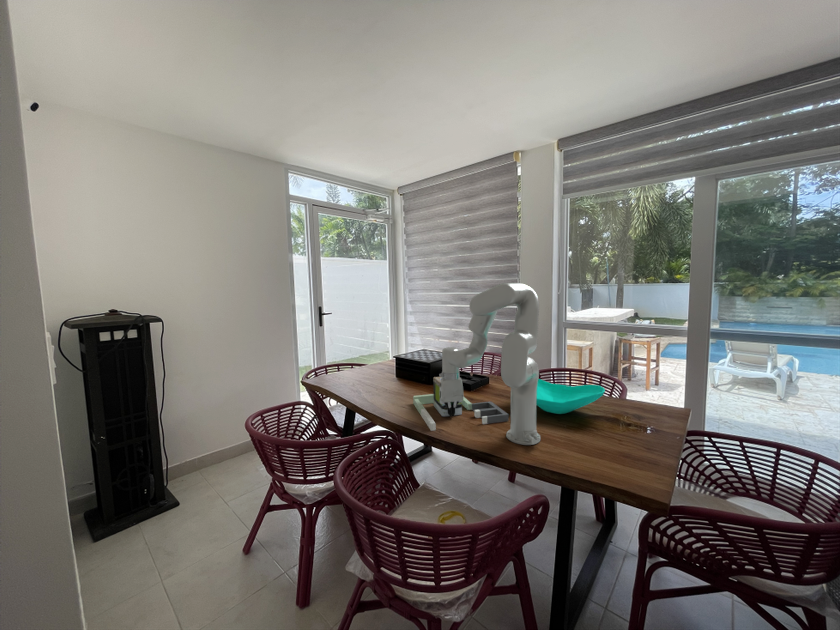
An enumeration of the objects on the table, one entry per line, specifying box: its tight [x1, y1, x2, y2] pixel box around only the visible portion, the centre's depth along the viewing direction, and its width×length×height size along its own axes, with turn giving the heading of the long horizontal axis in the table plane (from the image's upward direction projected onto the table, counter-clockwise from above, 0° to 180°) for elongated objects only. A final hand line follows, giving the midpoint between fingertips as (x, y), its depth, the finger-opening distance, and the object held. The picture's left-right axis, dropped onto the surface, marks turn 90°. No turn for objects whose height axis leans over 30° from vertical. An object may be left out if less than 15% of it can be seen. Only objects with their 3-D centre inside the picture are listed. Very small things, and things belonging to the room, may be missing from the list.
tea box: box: [432, 376, 463, 417], centre depth 159 cm, size 15×10×15 cm, turn 13°
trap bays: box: [471, 401, 510, 425], centre depth 152 cm, size 17×10×3 cm, turn 14°
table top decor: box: [536, 378, 606, 415], centre depth 155 cm, size 40×28×13 cm
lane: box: [412, 393, 487, 432], centre depth 156 cm, size 33×25×4 cm
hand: (451, 415), depth 150 cm, fingers closed
